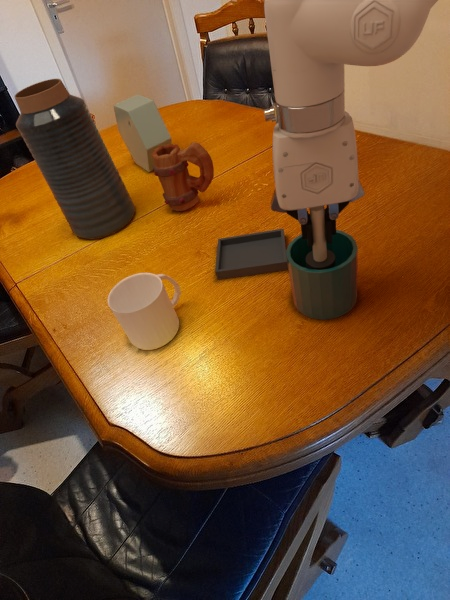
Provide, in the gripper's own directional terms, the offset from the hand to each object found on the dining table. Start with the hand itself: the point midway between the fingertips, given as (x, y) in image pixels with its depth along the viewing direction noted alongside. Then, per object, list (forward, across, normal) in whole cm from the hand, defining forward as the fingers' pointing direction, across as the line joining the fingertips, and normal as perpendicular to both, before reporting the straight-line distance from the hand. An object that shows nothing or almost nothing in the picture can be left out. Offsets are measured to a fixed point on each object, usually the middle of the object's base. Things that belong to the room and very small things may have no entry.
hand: (319, 238), depth 59 cm
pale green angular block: (+13, -41, +64) cm, 77 cm away
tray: (+12, -12, +13) cm, 21 cm away
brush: (+9, 0, 0) cm, 9 cm away
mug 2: (+12, -26, +36) cm, 46 cm away
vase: (+12, -49, +36) cm, 62 cm away
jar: (+12, 0, 0) cm, 12 cm away
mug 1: (+12, -28, -2) cm, 30 cm away
